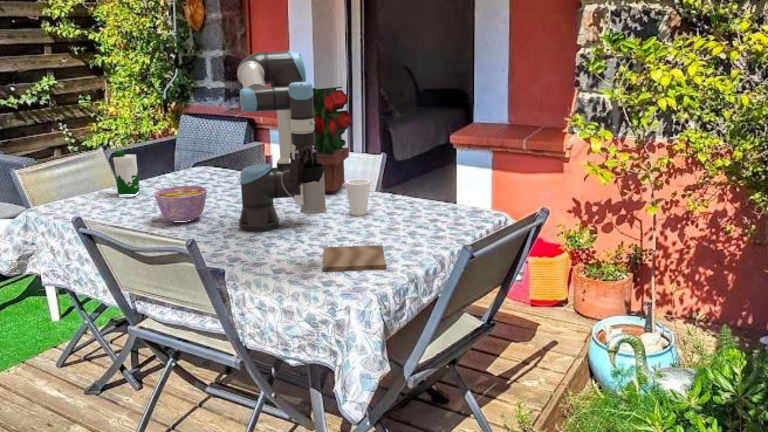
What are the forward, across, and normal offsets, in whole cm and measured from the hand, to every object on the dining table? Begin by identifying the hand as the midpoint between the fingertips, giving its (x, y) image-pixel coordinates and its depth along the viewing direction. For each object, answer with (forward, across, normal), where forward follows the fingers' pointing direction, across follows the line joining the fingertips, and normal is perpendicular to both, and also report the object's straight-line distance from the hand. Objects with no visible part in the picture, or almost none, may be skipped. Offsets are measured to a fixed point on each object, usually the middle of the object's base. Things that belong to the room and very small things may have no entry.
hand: (306, 200), depth 253 cm
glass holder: (+3, -1, 0) cm, 4 cm away
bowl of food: (+19, +24, +70) cm, 76 cm away
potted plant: (+19, +84, +40) cm, 95 cm away
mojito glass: (+19, +47, +118) cm, 129 cm away
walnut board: (+20, +4, -14) cm, 25 cm away
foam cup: (+19, +55, +9) cm, 59 cm away
